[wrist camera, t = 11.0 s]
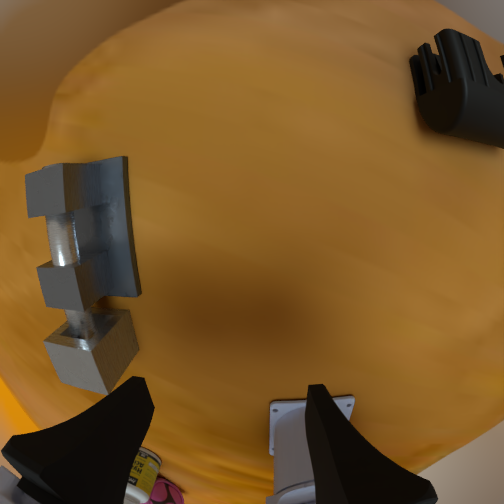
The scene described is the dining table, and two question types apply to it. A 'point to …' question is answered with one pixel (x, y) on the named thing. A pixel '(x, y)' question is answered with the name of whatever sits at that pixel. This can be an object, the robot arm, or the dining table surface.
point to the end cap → (459, 89)
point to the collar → (95, 351)
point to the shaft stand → (85, 237)
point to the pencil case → (165, 493)
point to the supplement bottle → (142, 477)
